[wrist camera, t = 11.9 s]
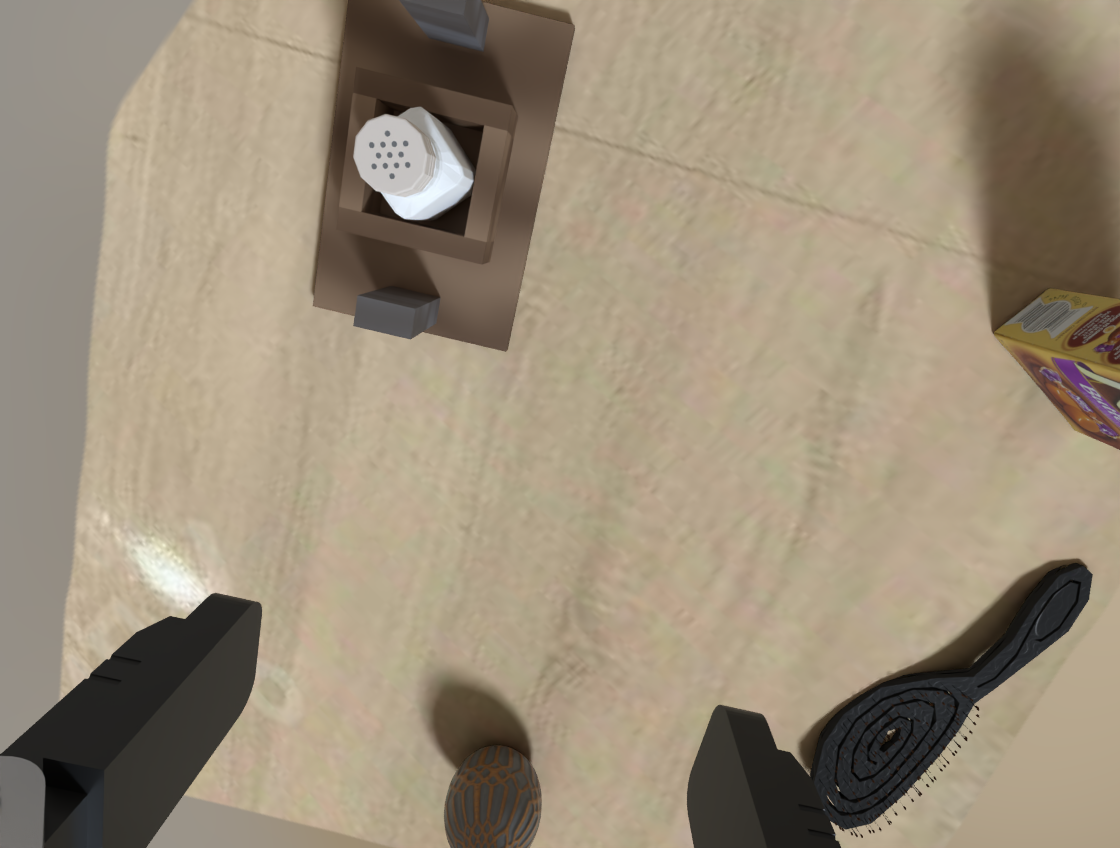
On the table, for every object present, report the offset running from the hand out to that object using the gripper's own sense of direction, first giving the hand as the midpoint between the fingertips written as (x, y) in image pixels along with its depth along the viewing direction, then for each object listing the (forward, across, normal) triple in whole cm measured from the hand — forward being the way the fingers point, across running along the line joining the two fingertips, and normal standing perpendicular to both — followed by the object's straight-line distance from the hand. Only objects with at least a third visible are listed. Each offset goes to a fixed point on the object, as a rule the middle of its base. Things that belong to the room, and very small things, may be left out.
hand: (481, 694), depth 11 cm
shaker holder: (+30, +9, -9) cm, 33 cm away
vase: (+30, -3, +32) cm, 44 cm away
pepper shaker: (+30, +9, -9) cm, 32 cm away
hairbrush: (+31, -32, +17) cm, 48 cm away
